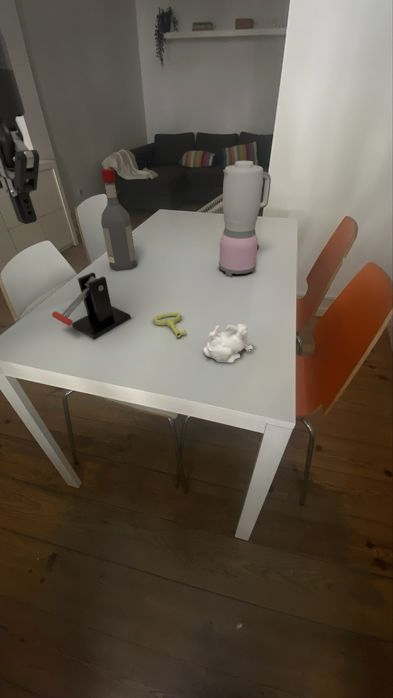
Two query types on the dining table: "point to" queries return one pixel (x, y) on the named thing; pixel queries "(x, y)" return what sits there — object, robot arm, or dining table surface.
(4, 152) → the robot arm
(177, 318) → the key
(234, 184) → the blender
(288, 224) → the dining table surface
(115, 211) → the liquor
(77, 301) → the lever
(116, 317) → the switch bracket
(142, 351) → the dining table surface
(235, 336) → the rabbit figurine
